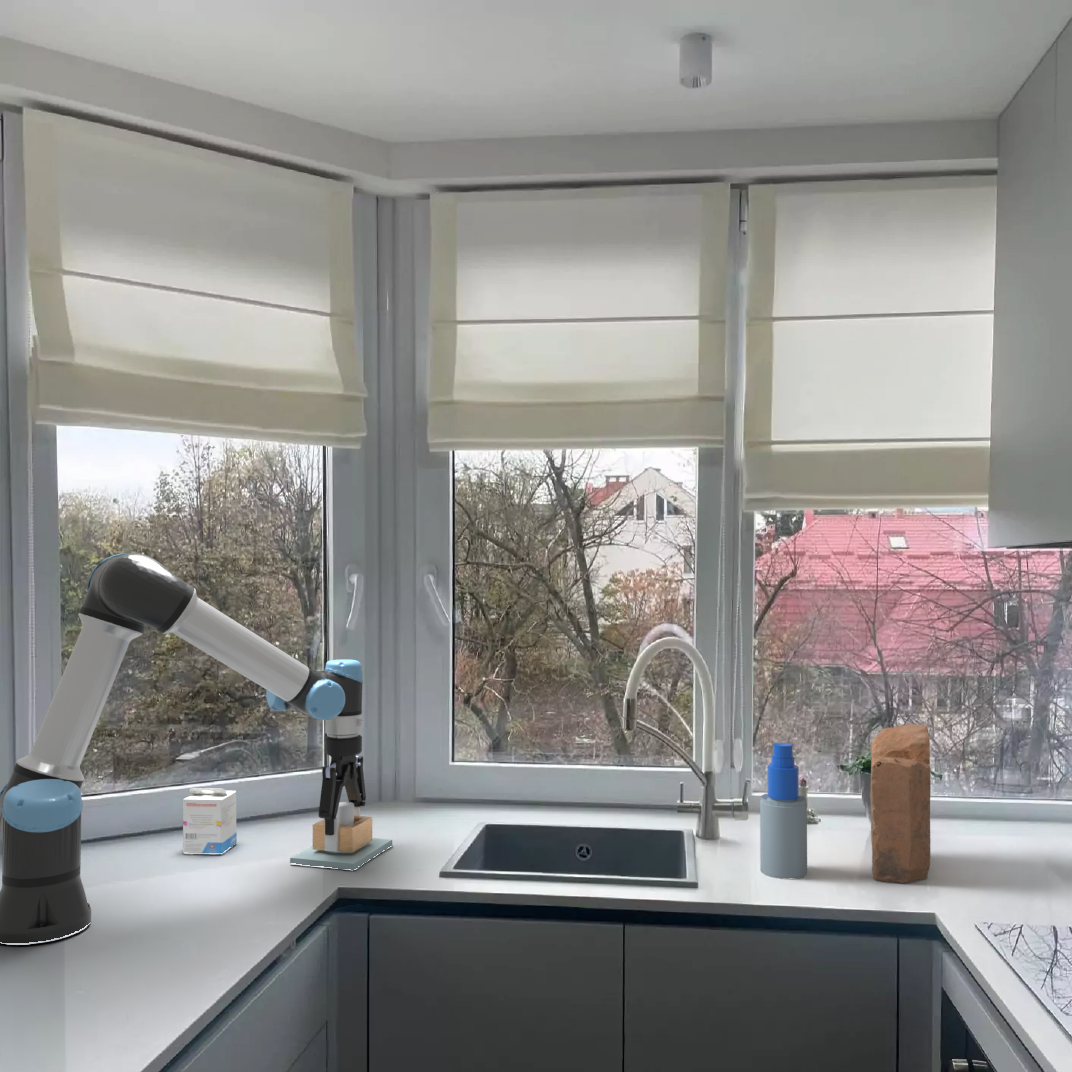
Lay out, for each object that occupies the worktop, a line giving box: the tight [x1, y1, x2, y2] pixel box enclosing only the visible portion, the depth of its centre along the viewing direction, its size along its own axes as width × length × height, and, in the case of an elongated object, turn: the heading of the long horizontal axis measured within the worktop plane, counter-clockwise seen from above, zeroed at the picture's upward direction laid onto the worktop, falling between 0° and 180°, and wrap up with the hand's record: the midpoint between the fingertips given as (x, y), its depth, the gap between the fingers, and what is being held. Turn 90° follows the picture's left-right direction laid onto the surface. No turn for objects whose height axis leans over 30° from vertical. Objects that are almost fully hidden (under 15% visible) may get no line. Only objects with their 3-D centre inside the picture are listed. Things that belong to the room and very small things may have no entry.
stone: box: [869, 723, 932, 884], centre depth 197 cm, size 22×11×28 cm, turn 162°
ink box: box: [182, 787, 238, 853], centre depth 210 cm, size 9×8×13 cm
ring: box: [312, 815, 373, 853], centre depth 206 cm, size 9×9×5 cm
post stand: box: [289, 801, 393, 870], centre depth 206 cm, size 18×14×10 cm
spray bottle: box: [759, 742, 808, 879], centre depth 195 cm, size 9×9×25 cm
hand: (342, 844), depth 206 cm, fingers closed on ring, 9 cm apart
